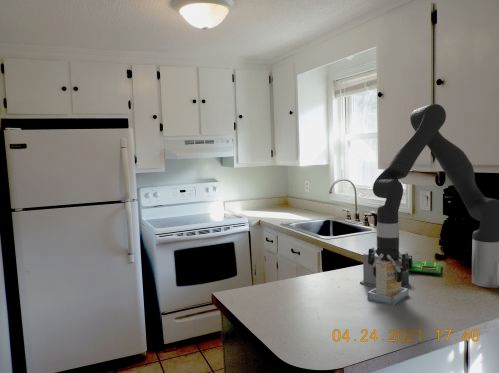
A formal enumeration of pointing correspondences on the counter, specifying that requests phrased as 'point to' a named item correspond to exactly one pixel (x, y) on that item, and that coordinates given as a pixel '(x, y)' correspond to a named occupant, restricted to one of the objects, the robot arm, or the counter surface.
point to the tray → (385, 299)
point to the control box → (368, 272)
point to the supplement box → (387, 279)
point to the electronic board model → (423, 266)
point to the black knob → (405, 278)
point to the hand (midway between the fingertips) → (387, 279)
